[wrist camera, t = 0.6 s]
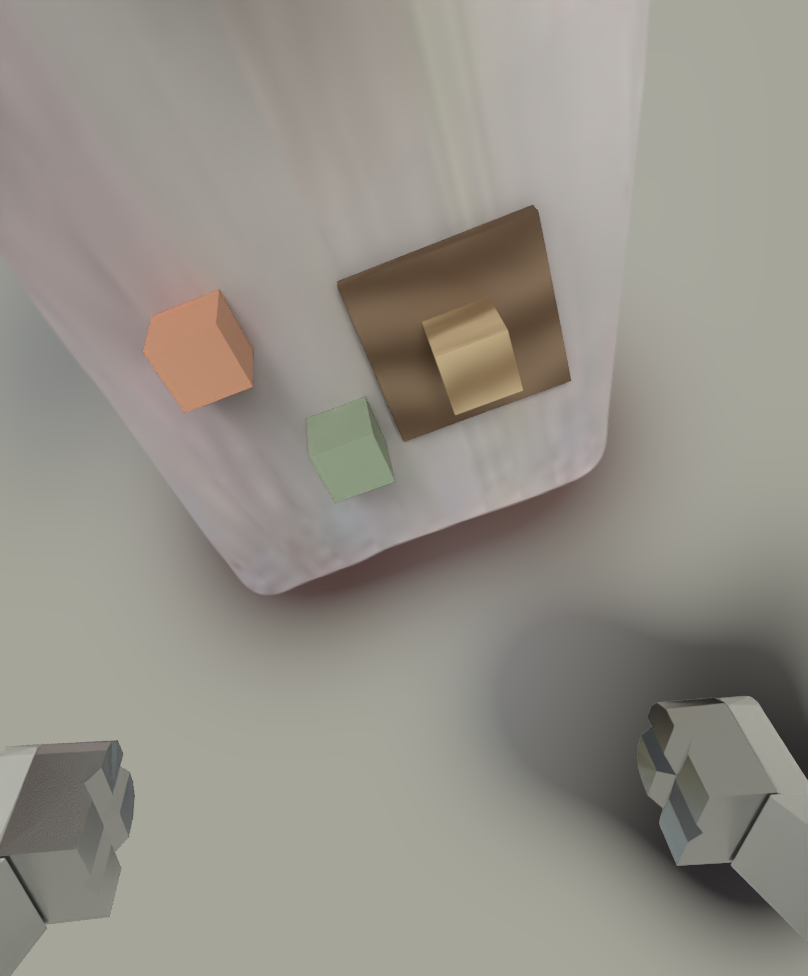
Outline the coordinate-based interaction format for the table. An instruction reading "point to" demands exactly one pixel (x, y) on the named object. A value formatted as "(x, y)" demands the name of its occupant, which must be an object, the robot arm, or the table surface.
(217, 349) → the terracotta block
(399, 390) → the walnut board
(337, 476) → the sage block
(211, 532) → the table surface
